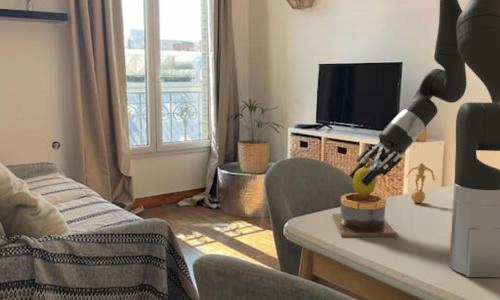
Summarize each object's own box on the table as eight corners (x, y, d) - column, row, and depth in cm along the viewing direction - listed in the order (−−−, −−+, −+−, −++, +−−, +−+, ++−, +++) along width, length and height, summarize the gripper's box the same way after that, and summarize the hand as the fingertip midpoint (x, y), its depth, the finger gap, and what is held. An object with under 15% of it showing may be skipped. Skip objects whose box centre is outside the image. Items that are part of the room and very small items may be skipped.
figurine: (402, 202, 150) (404, 163, 148) (407, 198, 155) (409, 160, 153) (430, 206, 146) (432, 166, 144) (435, 201, 151) (437, 163, 149)
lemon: (373, 194, 128) (374, 164, 126) (376, 200, 122) (377, 168, 121) (351, 194, 128) (352, 164, 127) (353, 199, 123) (354, 168, 122)
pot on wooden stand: (395, 237, 118) (397, 206, 117) (341, 236, 119) (342, 206, 117) (380, 217, 134) (381, 190, 133) (332, 217, 134) (333, 190, 133)
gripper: (378, 119, 131) (335, 166, 130) (409, 124, 117) (362, 177, 116) (395, 138, 133) (353, 184, 132) (427, 145, 120) (381, 197, 118)
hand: (357, 180), depth 124 cm, fingers open, 5 cm apart
